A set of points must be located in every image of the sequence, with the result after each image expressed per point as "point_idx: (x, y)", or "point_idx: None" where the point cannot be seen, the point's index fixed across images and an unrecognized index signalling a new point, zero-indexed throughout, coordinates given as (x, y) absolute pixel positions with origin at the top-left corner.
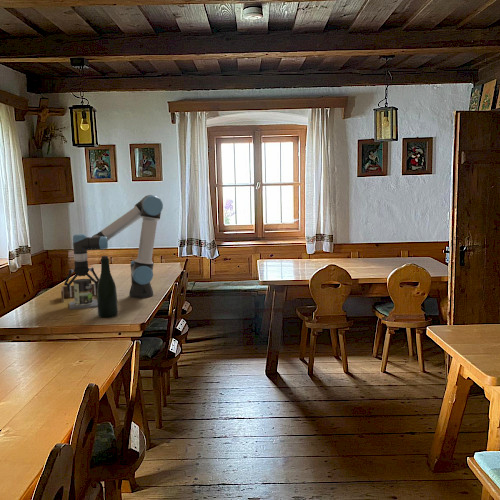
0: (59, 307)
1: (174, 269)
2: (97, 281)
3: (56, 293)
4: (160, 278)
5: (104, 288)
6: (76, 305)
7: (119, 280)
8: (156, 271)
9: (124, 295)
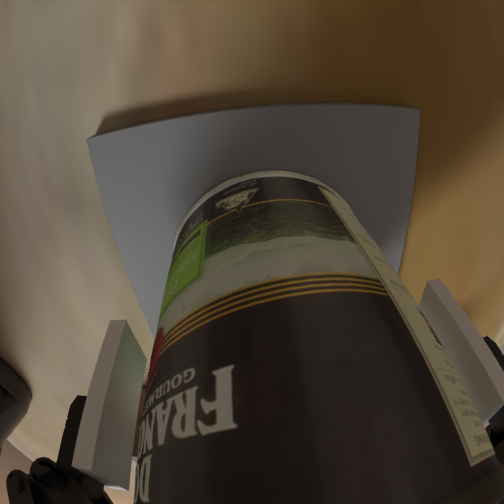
0: (460, 228)
1: None
2: (44, 501)
3: None
4: None
5: None
6: (348, 196)
7: None
8: (116, 500)
9: (57, 401)
